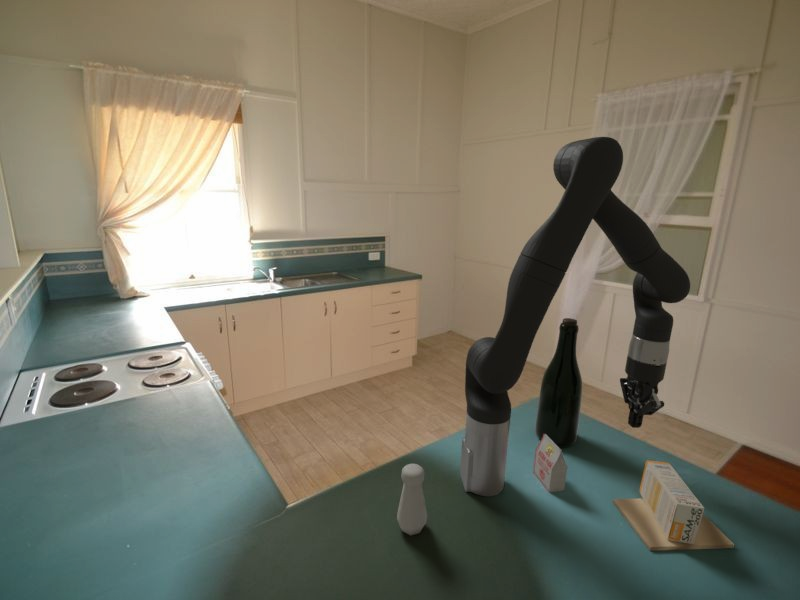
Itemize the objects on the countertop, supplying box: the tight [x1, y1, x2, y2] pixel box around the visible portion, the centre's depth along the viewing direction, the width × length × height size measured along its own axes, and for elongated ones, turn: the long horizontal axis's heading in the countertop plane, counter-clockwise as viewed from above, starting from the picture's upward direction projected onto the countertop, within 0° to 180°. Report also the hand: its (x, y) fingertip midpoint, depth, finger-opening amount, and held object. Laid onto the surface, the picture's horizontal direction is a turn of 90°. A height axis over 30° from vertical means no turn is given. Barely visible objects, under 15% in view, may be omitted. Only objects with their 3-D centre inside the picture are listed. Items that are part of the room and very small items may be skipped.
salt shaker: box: [396, 463, 428, 536], centre depth 76 cm, size 6×6×13 cm
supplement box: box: [638, 459, 705, 544], centre depth 79 cm, size 8×5×13 cm
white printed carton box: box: [532, 434, 568, 493], centre depth 90 cm, size 4×7×10 cm, turn 11°
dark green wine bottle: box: [534, 317, 583, 448], centre depth 104 cm, size 10×10×33 cm
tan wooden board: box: [612, 497, 735, 552], centre depth 79 cm, size 16×12×1 cm
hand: (634, 425), depth 93 cm, fingers closed
